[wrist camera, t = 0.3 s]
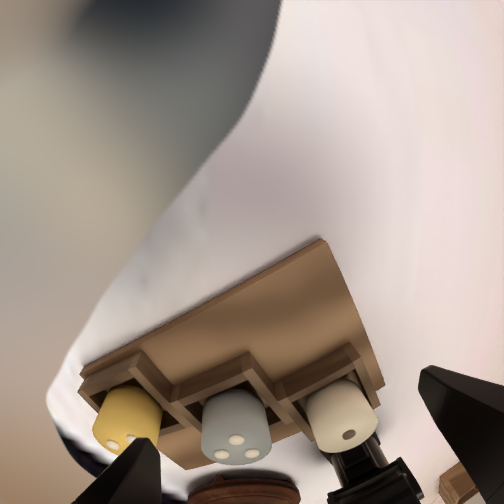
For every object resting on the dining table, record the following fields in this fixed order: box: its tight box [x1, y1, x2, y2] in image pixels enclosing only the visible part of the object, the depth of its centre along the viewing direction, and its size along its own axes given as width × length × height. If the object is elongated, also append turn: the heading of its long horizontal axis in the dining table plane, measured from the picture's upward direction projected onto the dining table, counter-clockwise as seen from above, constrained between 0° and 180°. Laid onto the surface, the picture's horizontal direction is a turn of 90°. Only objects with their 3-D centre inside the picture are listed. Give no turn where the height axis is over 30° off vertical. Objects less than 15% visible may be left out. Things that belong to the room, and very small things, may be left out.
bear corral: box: [439, 462, 479, 504], centre depth 34 cm, size 20×18×9 cm
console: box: [78, 239, 385, 470], centre depth 21 cm, size 16×23×3 cm
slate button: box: [201, 389, 272, 465], centre depth 18 cm, size 5×5×4 cm
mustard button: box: [92, 385, 163, 455], centre depth 17 cm, size 5×5×4 cm
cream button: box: [305, 379, 378, 453], centre depth 18 cm, size 5×5×4 cm
